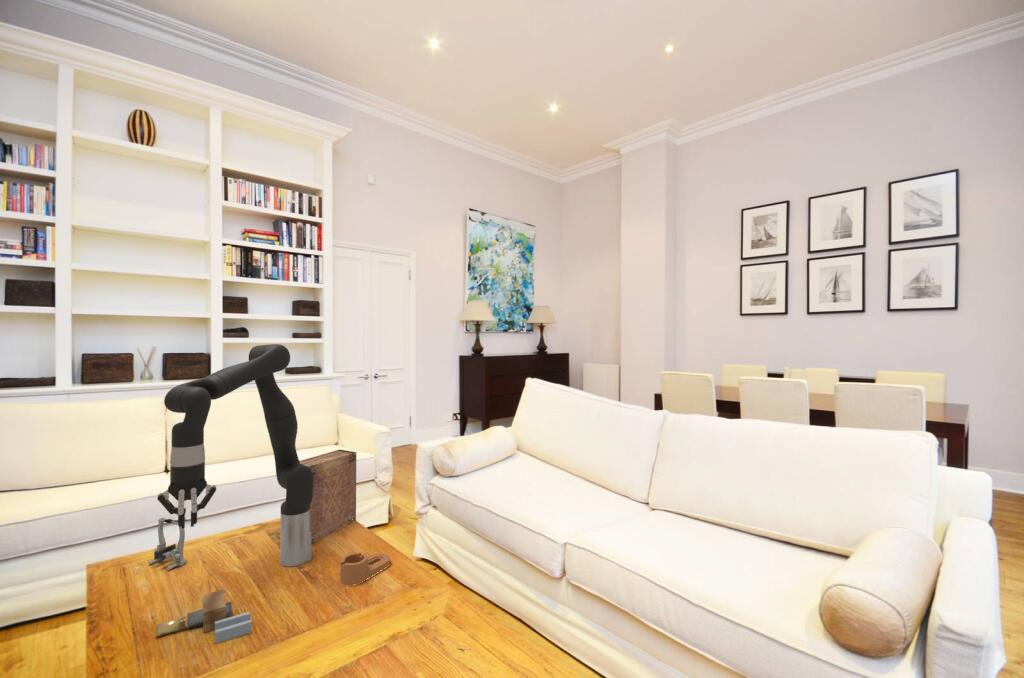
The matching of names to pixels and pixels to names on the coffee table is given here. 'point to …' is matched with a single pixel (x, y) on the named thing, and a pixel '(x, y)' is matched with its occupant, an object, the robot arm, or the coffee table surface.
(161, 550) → the bike brake
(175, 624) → the cylinder
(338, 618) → the coffee table surface
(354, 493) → the book
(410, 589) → the coffee table surface
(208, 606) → the beam
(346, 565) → the bracket
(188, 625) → the axle
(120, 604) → the coffee table surface
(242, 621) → the cradle
